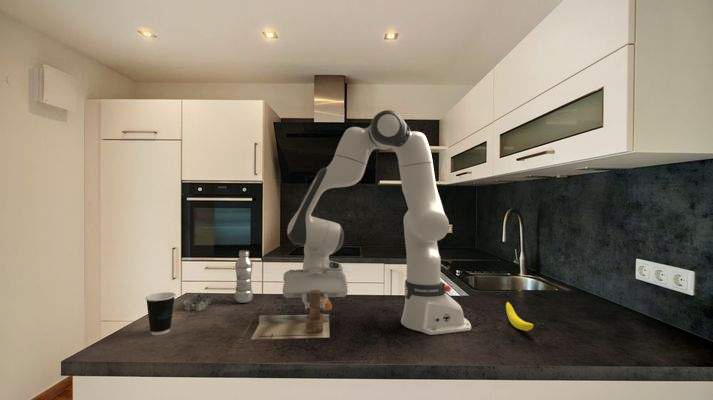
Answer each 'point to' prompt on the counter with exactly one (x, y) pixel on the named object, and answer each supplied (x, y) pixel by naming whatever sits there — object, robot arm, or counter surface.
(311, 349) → the counter surface
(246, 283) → the plastic bottle
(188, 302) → the egg carton
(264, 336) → the birch board
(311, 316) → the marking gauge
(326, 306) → the pastry
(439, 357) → the counter surface
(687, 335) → the counter surface
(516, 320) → the banana
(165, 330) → the dixie cup
